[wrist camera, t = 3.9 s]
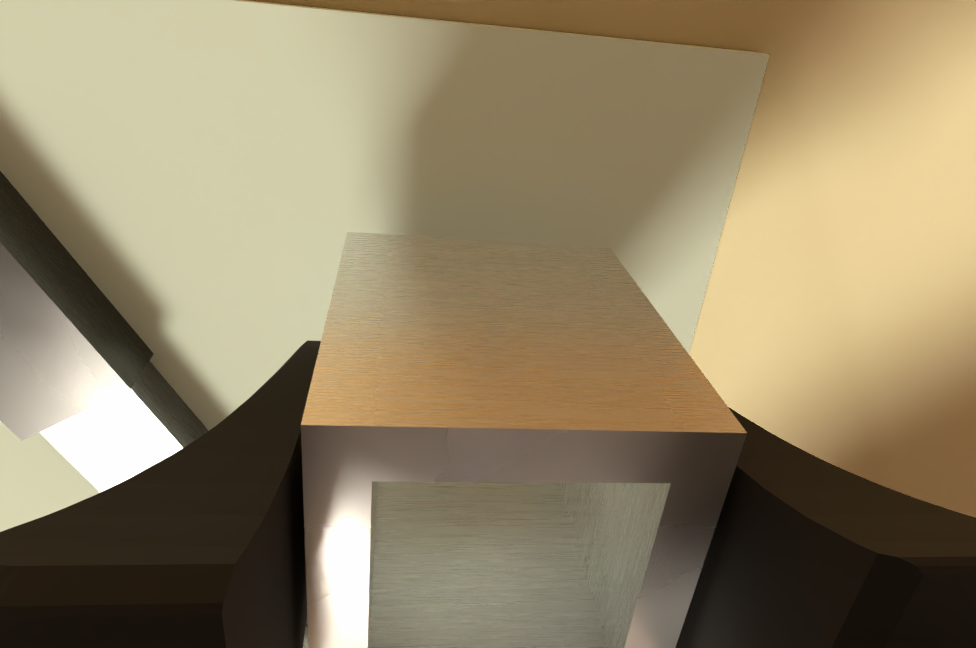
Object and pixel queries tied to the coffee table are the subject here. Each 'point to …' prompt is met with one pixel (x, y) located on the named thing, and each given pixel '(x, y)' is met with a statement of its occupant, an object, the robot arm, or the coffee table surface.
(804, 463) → the robot arm
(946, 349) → the coffee table surface
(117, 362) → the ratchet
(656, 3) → the coffee table surface
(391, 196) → the mat
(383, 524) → the socket
